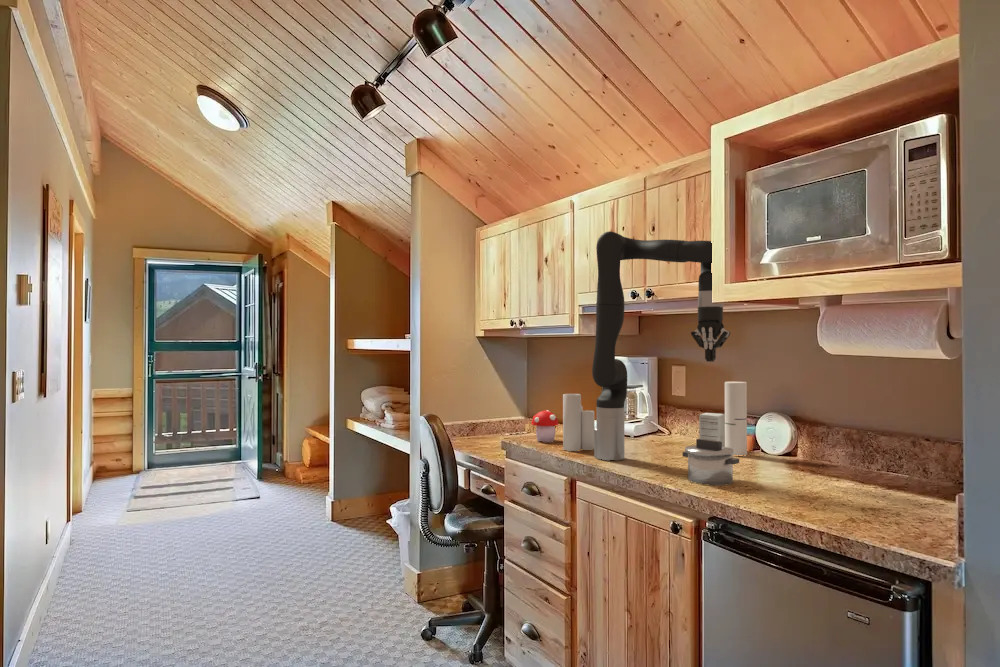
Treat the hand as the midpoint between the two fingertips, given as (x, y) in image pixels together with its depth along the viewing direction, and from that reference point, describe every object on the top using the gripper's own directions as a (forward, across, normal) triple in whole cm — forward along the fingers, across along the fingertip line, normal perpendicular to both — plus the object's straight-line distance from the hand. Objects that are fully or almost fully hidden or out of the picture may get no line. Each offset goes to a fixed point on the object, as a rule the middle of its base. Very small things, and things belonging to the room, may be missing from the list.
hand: (710, 361), depth 201 cm
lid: (+25, +10, -18) cm, 32 cm away
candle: (+33, -49, -7) cm, 60 cm away
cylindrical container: (+33, -6, +26) cm, 43 cm away
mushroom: (+33, -71, -2) cm, 78 cm away
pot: (+33, +10, -17) cm, 38 cm away
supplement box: (+33, -18, +31) cm, 49 cm away
